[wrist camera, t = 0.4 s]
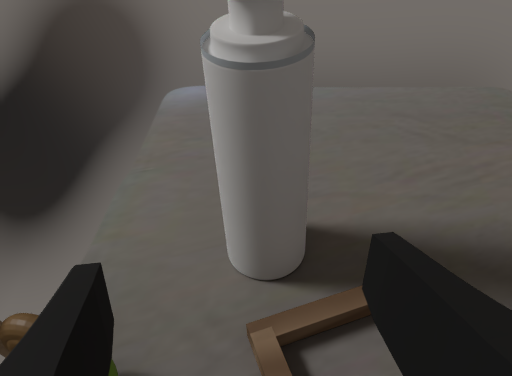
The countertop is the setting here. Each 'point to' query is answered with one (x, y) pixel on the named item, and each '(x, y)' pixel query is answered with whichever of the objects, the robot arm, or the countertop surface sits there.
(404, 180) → the countertop surface
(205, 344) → the countertop surface
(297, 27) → the white bottle
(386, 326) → the robot arm
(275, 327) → the brown flat frame
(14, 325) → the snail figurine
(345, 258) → the countertop surface
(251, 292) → the countertop surface
